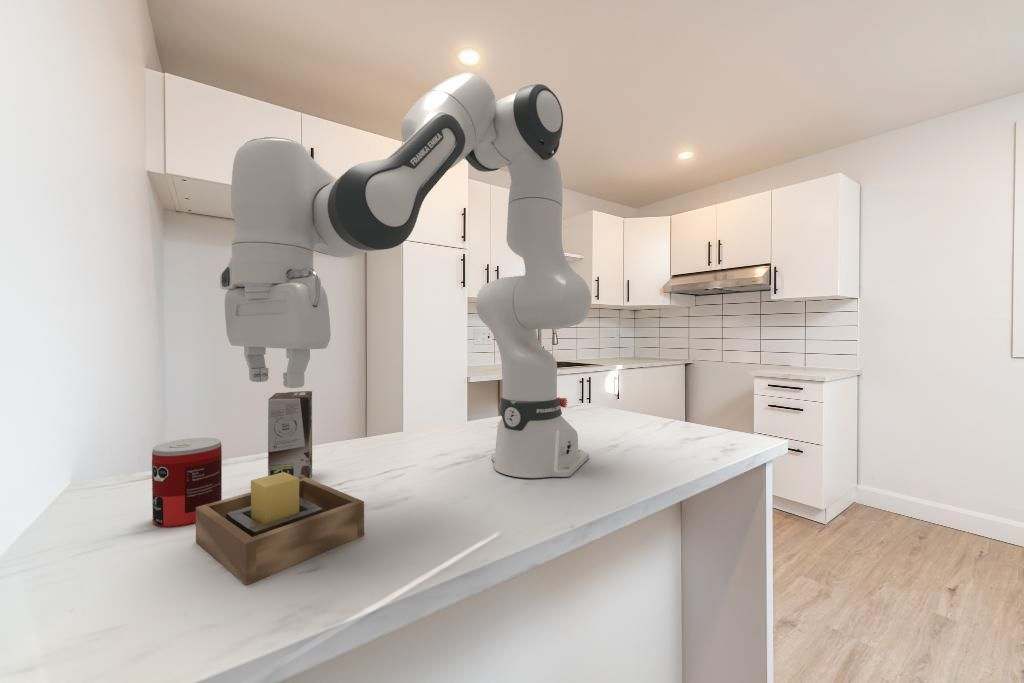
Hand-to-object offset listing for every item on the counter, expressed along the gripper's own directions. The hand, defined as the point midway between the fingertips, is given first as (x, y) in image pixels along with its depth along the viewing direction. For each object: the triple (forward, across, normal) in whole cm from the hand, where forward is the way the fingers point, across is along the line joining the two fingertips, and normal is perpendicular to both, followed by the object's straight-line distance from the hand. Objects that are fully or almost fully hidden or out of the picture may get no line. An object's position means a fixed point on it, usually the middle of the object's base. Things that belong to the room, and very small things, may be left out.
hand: (275, 384), depth 53 cm
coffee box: (+21, +21, -12) cm, 32 cm away
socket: (+20, 0, 0) cm, 20 cm away
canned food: (+21, +18, +4) cm, 28 cm away
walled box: (+20, 0, -1) cm, 21 cm away
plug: (+20, 0, 0) cm, 20 cm away
